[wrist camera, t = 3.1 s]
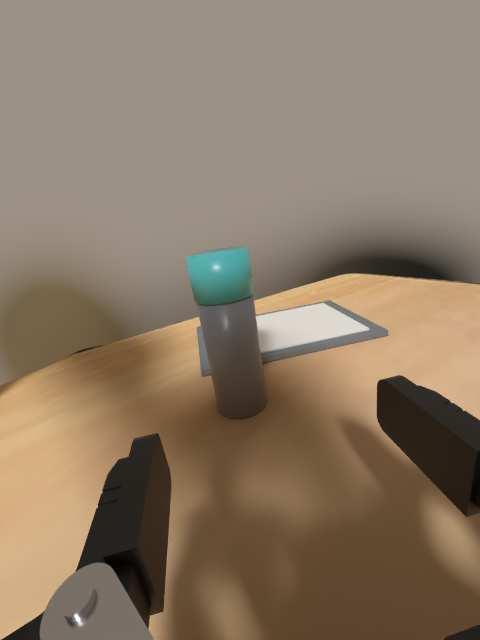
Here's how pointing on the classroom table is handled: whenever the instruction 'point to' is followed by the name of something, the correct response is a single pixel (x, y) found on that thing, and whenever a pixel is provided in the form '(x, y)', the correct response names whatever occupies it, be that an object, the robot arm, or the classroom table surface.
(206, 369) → the mat
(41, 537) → the classroom table surface
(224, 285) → the marker
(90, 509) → the classroom table surface
